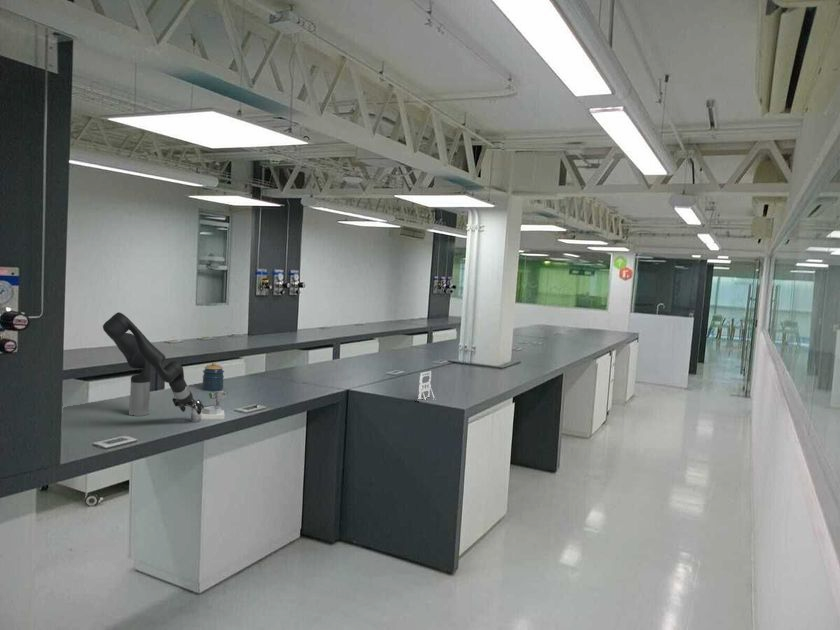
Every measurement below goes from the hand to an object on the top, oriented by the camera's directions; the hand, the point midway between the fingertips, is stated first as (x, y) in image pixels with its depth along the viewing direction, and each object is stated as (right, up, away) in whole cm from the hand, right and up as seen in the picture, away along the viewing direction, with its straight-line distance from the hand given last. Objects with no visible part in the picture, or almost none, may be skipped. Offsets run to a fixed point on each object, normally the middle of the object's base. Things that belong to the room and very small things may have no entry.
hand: (192, 411), depth 307 cm
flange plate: (+5, -5, +15) cm, 16 cm away
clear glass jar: (+1, -5, +3) cm, 6 cm away
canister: (-18, +1, +84) cm, 86 cm away
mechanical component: (+3, -4, +31) cm, 31 cm away
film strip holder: (+118, -8, +90) cm, 148 cm away
